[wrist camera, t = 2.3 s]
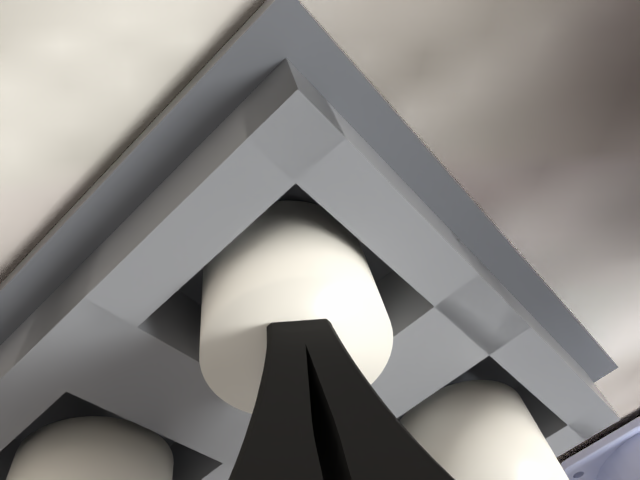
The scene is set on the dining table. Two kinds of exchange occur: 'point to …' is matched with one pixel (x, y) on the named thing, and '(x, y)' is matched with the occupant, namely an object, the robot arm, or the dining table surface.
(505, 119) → the dining table surface
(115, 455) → the button
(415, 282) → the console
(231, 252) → the button
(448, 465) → the button
